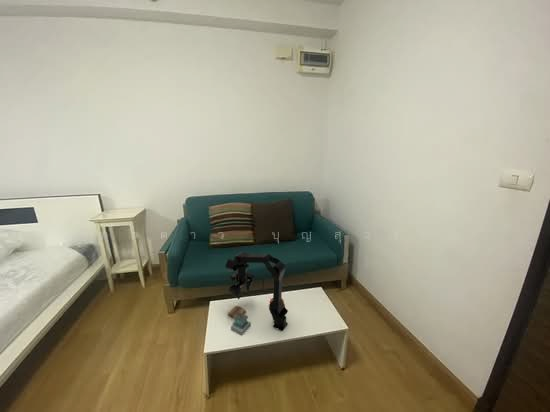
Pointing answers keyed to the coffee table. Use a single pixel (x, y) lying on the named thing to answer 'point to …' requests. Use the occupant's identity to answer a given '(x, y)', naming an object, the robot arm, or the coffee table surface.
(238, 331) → the stand
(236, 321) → the housing
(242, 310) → the stand
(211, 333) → the coffee table surface
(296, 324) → the coffee table surface
